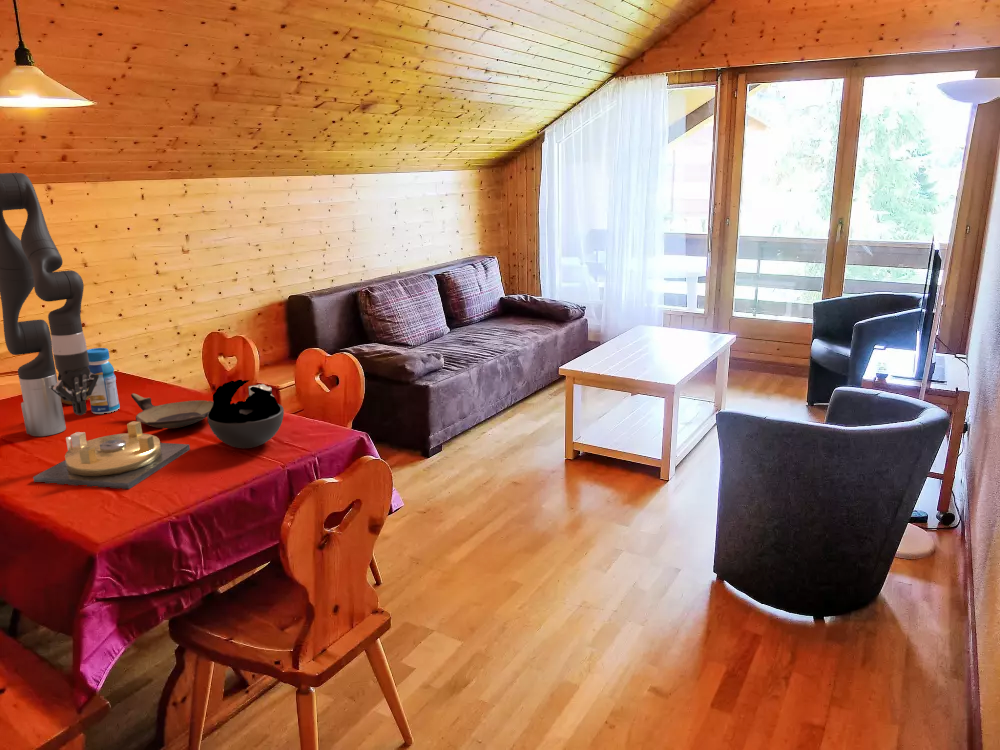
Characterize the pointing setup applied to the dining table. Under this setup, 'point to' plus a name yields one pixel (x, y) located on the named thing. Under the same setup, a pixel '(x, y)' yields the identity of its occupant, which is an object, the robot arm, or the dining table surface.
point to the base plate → (118, 480)
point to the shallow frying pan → (171, 412)
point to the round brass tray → (112, 452)
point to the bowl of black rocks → (244, 416)
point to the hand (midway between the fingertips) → (80, 414)
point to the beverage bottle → (103, 382)
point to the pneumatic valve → (261, 388)
